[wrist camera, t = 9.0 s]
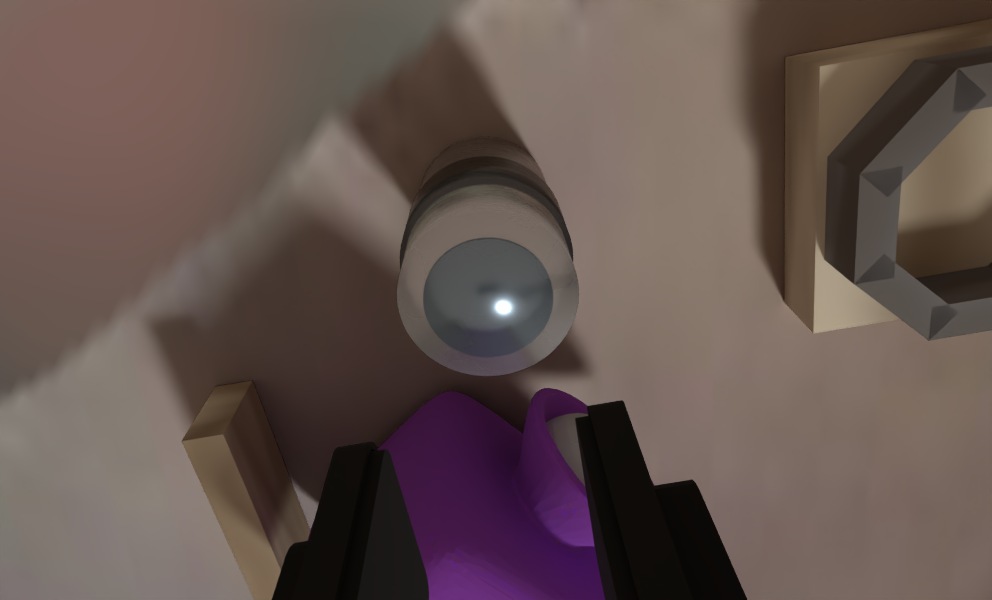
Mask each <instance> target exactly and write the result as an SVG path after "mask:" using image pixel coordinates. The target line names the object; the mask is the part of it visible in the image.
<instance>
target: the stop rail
mask: <svg viewBox="0 0 992 600" xmlns="http://www.w3.org/2000/svg"><path fill="white" fill-rule="evenodd" d="M182 443H183V445H184V448H185V450H186V452H187V454H188V456H189V459H190V461H191V463H192V465H193V467H194V469H195V472H196V474H197V476H198V478H199V480H200V483H201V485H202V487H203V489H204V491H205V493H206V496H207V498H208V500H209V502H210V504H211V507H212V509H213V511H214V513H215V515H216V517H217V520H218V522H219V524H220V526H221V528H222V531H223V533H224V535H225V537H226V539H227V542H228V544H229V546H230V548H231V550H232V552H233V555H234V557H235V559H236V561H237V563H238V566H239V568H240V570H241V572H242V574H243V576H244V579H245V581H246V583H247V585H248V587H249V590H250V592H251V594H252V596H253V598H254V600H272V597H273V594H274V591H275V587H276V584H277V581H278V578H279V575H280V572H281V569H282V565H283V562H284V559H285V556H286V554H287V552H288V549H289V547H290V546H291V545H292V544H294V543H297V542H303V541H307V540H308V537H309V534H310V529H309V526H308V523H307V521H306V518H305V516H304V513H303V510H302V508H301V505H300V503H299V500H298V498H297V495H296V492H295V490H294V487H293V485H292V482H291V479H290V477H289V474H288V472H287V469H286V466H285V464H284V461H283V459H282V456H281V453H280V451H279V448H278V446H277V443H276V441H275V438H274V435H273V433H272V430H271V428H270V425H269V422H268V420H267V417H266V415H265V412H264V409H263V407H262V404H261V402H260V399H259V396H258V394H257V391H256V389H255V386H254V384H253V381H246V382H240V383H234V384H228V385H222V386H216V387H215V388H214V390H213V391H212V393H211V395H210V396H209V398H208V399H207V401H206V403H205V404H204V406H203V407H202V409H201V411H200V412H199V414H198V416H197V417H196V419H195V420H194V422H193V424H192V425H191V427H190V428H189V430H188V432H187V433H186V435H185V436H184V438H183V440H182Z"/></svg>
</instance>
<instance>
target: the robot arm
mask: <svg viewBox="0 0 992 600" xmlns="http://www.w3.org/2000/svg"><path fill="white" fill-rule="evenodd" d="M587 412H588V416H584V417H578V418H575V423H576V429H577V436H578V442H579V449H580V455H581V462H582V468H583V475H584V481H585V488H586V494H587V500H588V507H589V513H590V520H591V526H592V533H593V539H594V546H595V552H596V557H597V563H598V568H599V573H600V578H601V583H602V587H603V592H604V597H605V600H747V598H746V596H745V593H744V591H743V589H742V587H741V584H740V582H739V580H738V577H737V575H736V573H735V570H734V568H733V566H732V564H731V561H730V559H729V557H728V554H727V552H726V550H725V548H724V545H723V543H722V541H721V538H720V536H719V534H718V531H717V529H716V527H715V525H714V522H713V520H712V518H711V515H710V513H709V511H708V509H707V506H706V504H705V502H704V499H703V497H702V495H701V493H700V490H699V488H698V486H697V485H696V483H695V482H694V481H693V480H687V481H681V482H675V483H668V484H662V485H656V486H653V484H652V481H651V478H650V475H649V472H648V469H647V467H646V464H645V461H644V458H643V455H642V452H641V450H640V447H639V444H638V441H637V438H636V435H635V432H634V430H633V427H632V424H631V421H630V418H629V415H628V412H627V410H626V407H625V404H624V402H623V401H622V400H621V401H615V402H609V403H603V404H597V405H591V406H587ZM272 600H429V586H428V579H427V574H426V570H425V567H424V564H423V561H422V557H421V554H420V551H419V547H418V544H417V541H416V537H415V534H414V531H413V527H412V524H411V521H410V518H409V514H408V511H407V508H406V504H405V501H404V498H403V494H402V491H401V488H400V484H399V481H398V478H397V475H396V471H395V468H394V465H393V461H392V458H391V455H390V452H389V451H388V450H387V449H383V450H377V447H376V445H375V444H374V443H373V442H367V443H361V444H355V445H349V446H343V447H338V448H336V449H335V451H334V453H333V457H332V460H331V464H330V467H329V471H328V474H327V478H326V481H325V485H324V488H323V492H322V495H321V499H320V502H319V506H318V509H317V513H316V516H315V520H314V523H313V527H312V530H311V534H310V537H309V541H303V542H297V543H294V544H292V545H291V546H290V547H289V549H288V552H287V554H286V556H285V559H284V562H283V565H282V569H281V572H280V575H279V578H278V581H277V584H276V587H275V591H274V594H273V597H272Z"/></svg>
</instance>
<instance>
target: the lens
mask: <svg viewBox="0 0 992 600" xmlns="http://www.w3.org/2000/svg"><path fill="white" fill-rule="evenodd" d="M400 269H401V271H400V275H399V279H398V286H397V304H398V309H399V314H400V317H401V320H402V323H403V325H404V327H405V329H406V331H407V333H408V335H409V336H410V337H411V339H412V340H413V342H414V343H415V344H416V345H417V346H418V347H419V349H420V350H421V351H423V352H424V353H425V354H426V355H427V356H428V357H430V358H431V359H433V360H434V361H436V362H437V363H439V364H441V365H443V366H445V367H447V368H449V369H452V370H454V371H457V372H460V373H465V374H469V375H477V376H498V375H505V374H510V373H514V372H517V371H520V370H523V369H526V368H528V367H530V366H532V365H534V364H536V363H537V362H539V361H540V360H542V359H544V358H545V357H546V356H547V355H549V354H550V353H551V352H552V351H553V350H554V349H555V348H556V347H557V346H558V345H559V344H560V343H561V342H562V340H563V339H564V338H565V336H566V335H567V333H568V331H569V329H570V328H571V326H572V323H573V321H574V318H575V316H576V312H577V307H578V300H579V286H578V279H577V274H576V271H575V268H574V265H573V249H572V243H571V239H570V235H569V233H568V230H567V227H566V224H565V221H564V219H563V216H562V213H561V210H560V207H559V205H558V202H557V200H556V198H555V196H554V194H553V192H552V191H551V189H550V188H549V187H548V185H547V184H546V181H545V178H544V176H543V173H542V171H541V169H540V168H539V166H538V165H537V163H536V162H535V160H534V159H533V158H532V157H531V156H530V155H529V154H528V153H527V152H525V151H524V150H523V149H522V148H520V147H518V146H517V145H515V144H513V143H511V142H509V141H506V140H503V139H499V138H493V137H475V138H469V139H465V140H462V141H460V142H457V143H455V144H453V145H451V146H450V147H448V148H447V149H445V150H444V151H443V152H441V153H440V154H439V155H438V156H437V157H436V158H435V159H434V161H433V162H432V163H431V165H430V166H429V168H428V170H427V171H426V174H425V176H424V179H423V181H422V185H421V189H420V190H419V192H418V194H417V196H416V197H415V199H414V202H413V204H412V207H411V209H410V213H409V217H408V221H407V224H406V228H405V232H404V236H403V240H402V244H401V250H400Z"/></svg>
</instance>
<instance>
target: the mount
mask: <svg viewBox="0 0 992 600" xmlns="http://www.w3.org/2000/svg"><path fill="white" fill-rule="evenodd" d="M784 302H785V303H786V304H787V306H788V307H789V308H790V309H791V310H792V311H793V312H794V313H795V314H796V315H797V316H798V317H799V318H800V320H801V321H802V322H803V323H804V324H805V325H806V326H807V327H808V328H809V329H810V330H811V331H812V332H813V333H819V332H825V331H831V330H837V329H843V328H849V327H855V326H861V325H867V324H873V323H879V322H885V321H892V320H898V319H901V320H902V321H904V322H905V323H906V324H908V325H909V326H910V327H911V328H913V329H914V330H915V331H917V332H918V333H919V334H921V335H922V336H923V337H925V338H926V339H927V340H928V341H929V340H935V339H941V338H947V337H953V336H959V335H965V334H972V333H978V332H984V331H990V330H992V19H987V20H982V21H976V22H971V23H966V24H960V25H955V26H949V27H944V28H939V29H933V30H928V31H922V32H917V33H912V34H906V35H901V36H895V37H890V38H885V39H879V40H874V41H868V42H863V43H858V44H852V45H847V46H842V47H836V48H831V49H825V50H820V51H815V52H809V53H804V54H798V55H793V56H788V57H785V300H784Z"/></svg>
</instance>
